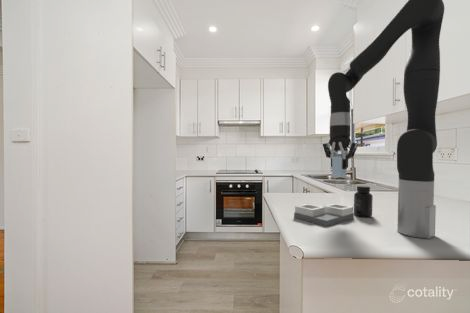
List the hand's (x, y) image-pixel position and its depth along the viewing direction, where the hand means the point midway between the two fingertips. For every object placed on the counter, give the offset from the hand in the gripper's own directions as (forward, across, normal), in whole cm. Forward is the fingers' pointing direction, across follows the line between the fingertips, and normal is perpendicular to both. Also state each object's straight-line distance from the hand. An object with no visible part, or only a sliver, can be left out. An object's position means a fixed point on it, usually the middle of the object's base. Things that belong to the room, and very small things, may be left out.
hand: (339, 168), depth 98 cm
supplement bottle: (+20, -4, -12) cm, 23 cm away
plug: (+3, 0, 0) cm, 3 cm away
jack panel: (+19, +3, +5) cm, 20 cm away
